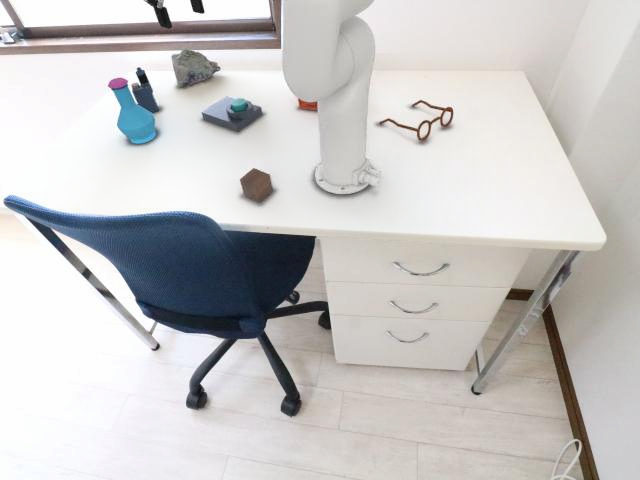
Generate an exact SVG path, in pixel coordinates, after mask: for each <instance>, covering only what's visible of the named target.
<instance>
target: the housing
mask: <svg viewBox="0 0 640 480" xmlns="http://www.w3.org/2000/svg"><path fill="white" fill-rule="evenodd" d="M234 99H235V98H234V97H230V96H228V95H226V96H225V97H223V98H221V99H220V100H218V101H217V102H215V103H214V104H211V105H210V106H209V107H207V108H206V109H204V110H203V111H201V112H200V113H201V116H202V120H203V121H206V122H210V123H212V124H215V125H218V126H220V127H223V128H226V129H229V130H232V131H235V132H237V133H239V132H240V131H242V130H243V129H245V128H246V127H247V126H249V125H250V124H251V123H253V122H254V121H256V120H257V119H258V118H259V117H261V116H262V115H263V109H262V106H260V105H256V104H254V103H252V102H251V101H249V100H246V99H245V100H246V104H247V108H246V109H244V110H241V111H233V110H232V107H231V101H232V100H234Z"/></svg>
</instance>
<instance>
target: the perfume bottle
mask: <svg viewBox="0 0 640 480" xmlns="http://www.w3.org/2000/svg"><path fill="white" fill-rule="evenodd" d="M107 87H108V88H110V90H111V91H112V92H113V94H114V96H115V98H116V100H117V102H118V104H119V106H120V110H119V113H118V117H117V122H116V126H117V128H118V130H119V131H120V132H121V133H122V134H123V135H124V136H125V137H126V138H128V139H129V140H130V142H131V143H133V144H138V145H139V144H144V143H147V142H150V141H152V140H153V139H154V138H155V137H156V135H157V133H156V119H155V115H154V113H153V112H152V113H151V112H149V111H148V110H146V109H144V108H143V107H141V106H140V105H138V103H137V102H136V100H135V98H134V95H132V94H133V93H132V92H131V90H130V88H129V79H126V78H124V77H116V78H112V79H111V80H109V82H108V83H107Z"/></svg>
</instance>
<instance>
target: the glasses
mask: <svg viewBox="0 0 640 480" xmlns="http://www.w3.org/2000/svg"><path fill="white" fill-rule="evenodd" d="M419 104H423V105H425V106H427V107H428V108H430V109H432V110H433V109H434V110H438V111H442V112H441V113H440V116H437V117H435V118H433V119H432V120H428V119H424V120H423V121H421V122H420V123H419V125H418V126H417V128H416V127H412V126H409V125H405V124H402V123H398V122H397V121H395V120H394V119H392V118H390V117H388V118H386V119H384V120H383V119H382V120H380V121H379V125H382V124H384V123H387V122H390V123H391V124H393V125H395V126H396V127H398V128H400V129H401V128H402V129H405V130H408V131H412V132H416V138H417V139H418V140H419V141H421V142H423V141H425V140H427V139H428V138H429V136H430V134H431V130H432V125H433V124H434V123H435V122H437V121H439V123H440V126H441V127H442V128H447V127H448V126H449V125H450V124H451V123H452V121H453V119H454V108H453V107H452V106H447V107H443V106H437V105H433V104H430V103H429V102H428V101H424V100H422V99H419V100H418V101H415V102H414V103H412V104H411V107H412V108H413V107H416V106H418V105H419ZM446 112H447V113H450V117H449V120H448V121H447V122H446V123H445V124H444V116H445V114H446ZM425 124H427V125H428V129H427V133H426V134H425V136H423V137H421V129H422V127H423V125H425Z"/></svg>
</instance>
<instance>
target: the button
mask: <svg viewBox="0 0 640 480" xmlns="http://www.w3.org/2000/svg"><path fill="white" fill-rule="evenodd" d="M231 107H232V110H233V111H241V110H244V109H246V108H247V104H246V99H245V98H242V97H237V98H234V100H232V101H231Z"/></svg>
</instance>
